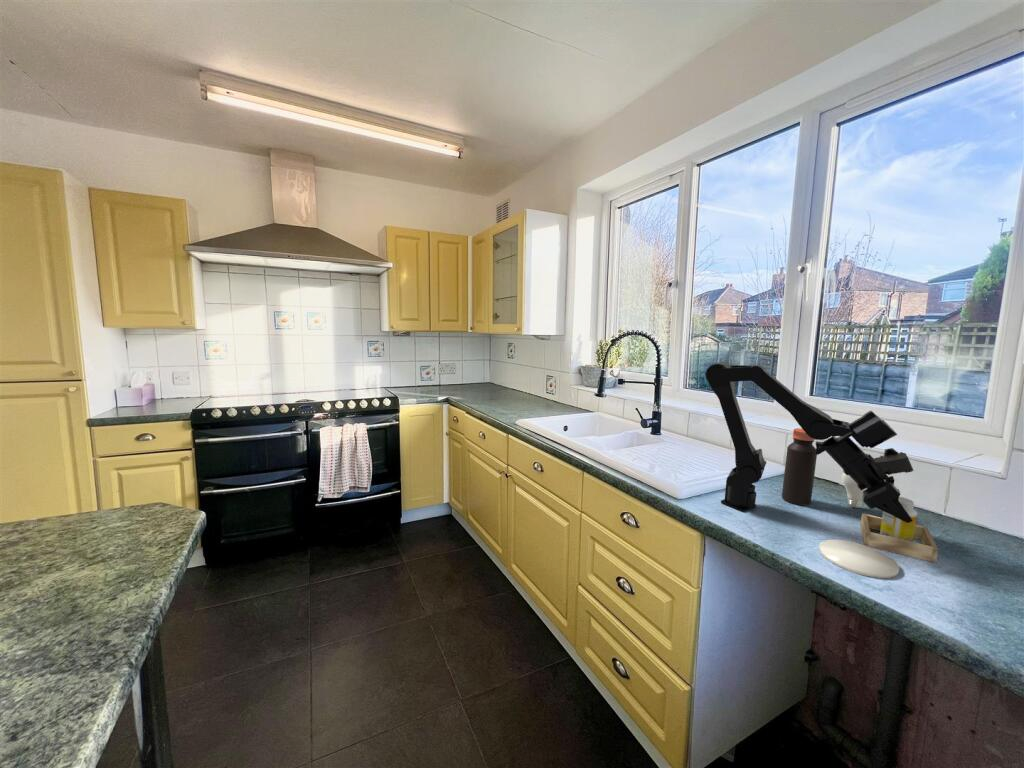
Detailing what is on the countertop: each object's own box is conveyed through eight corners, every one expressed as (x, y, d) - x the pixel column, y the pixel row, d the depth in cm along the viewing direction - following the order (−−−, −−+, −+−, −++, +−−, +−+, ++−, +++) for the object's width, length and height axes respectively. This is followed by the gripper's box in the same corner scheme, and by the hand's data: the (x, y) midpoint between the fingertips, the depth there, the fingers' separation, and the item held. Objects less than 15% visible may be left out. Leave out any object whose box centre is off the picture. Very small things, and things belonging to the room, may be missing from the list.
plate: (807, 552, 91) (807, 549, 91) (836, 537, 98) (836, 534, 98) (882, 585, 80) (882, 581, 80) (909, 566, 87) (910, 562, 87)
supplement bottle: (913, 543, 96) (921, 500, 94) (909, 551, 92) (917, 507, 91) (881, 533, 100) (888, 492, 98) (876, 541, 96) (883, 498, 95)
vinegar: (810, 499, 119) (819, 429, 116) (811, 508, 113) (820, 435, 110) (781, 493, 122) (789, 426, 119) (781, 501, 117) (789, 431, 114)
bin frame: (864, 544, 95) (865, 532, 94) (860, 524, 104) (862, 513, 104) (935, 562, 88) (938, 549, 88) (925, 539, 97) (927, 527, 97)
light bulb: (872, 515, 109) (878, 474, 107) (839, 509, 113) (845, 469, 111) (867, 506, 115) (873, 467, 113) (836, 500, 118) (842, 462, 116)
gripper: (893, 450, 87) (959, 515, 83) (882, 431, 102) (938, 485, 98) (839, 477, 93) (899, 540, 88) (837, 455, 108) (888, 508, 103)
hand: (907, 516), depth 94 cm, fingers closed on supplement bottle, 5 cm apart
